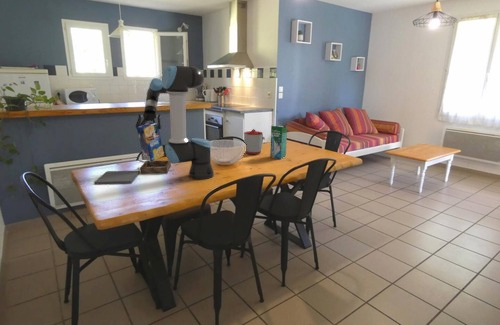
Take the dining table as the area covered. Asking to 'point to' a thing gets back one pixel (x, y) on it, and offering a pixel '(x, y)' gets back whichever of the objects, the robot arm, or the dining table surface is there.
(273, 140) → the milk carton
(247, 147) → the citrus juicer
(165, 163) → the walnut holder
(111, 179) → the charcoal mat
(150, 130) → the beverage box
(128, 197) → the dining table surface
